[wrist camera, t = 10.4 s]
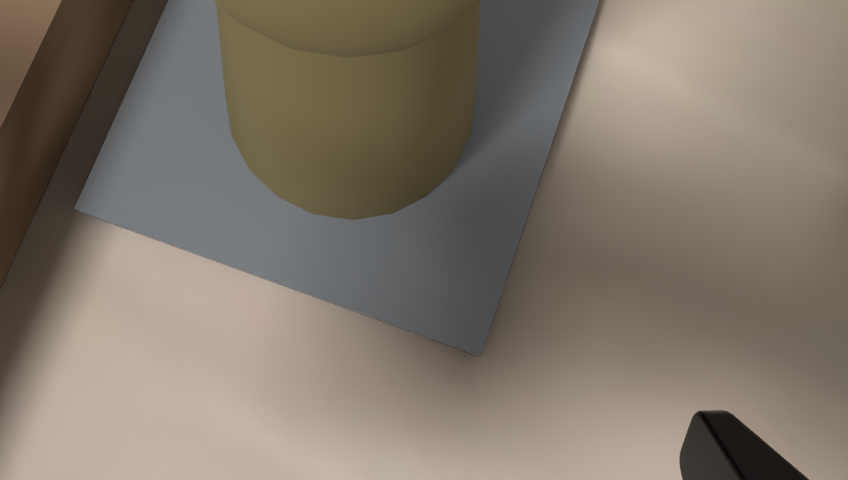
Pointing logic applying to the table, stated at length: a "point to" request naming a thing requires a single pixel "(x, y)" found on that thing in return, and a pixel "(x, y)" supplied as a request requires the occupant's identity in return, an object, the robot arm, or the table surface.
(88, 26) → the walnut holder block
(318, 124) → the olive green pawn
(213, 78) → the grey mat
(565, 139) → the table surface
